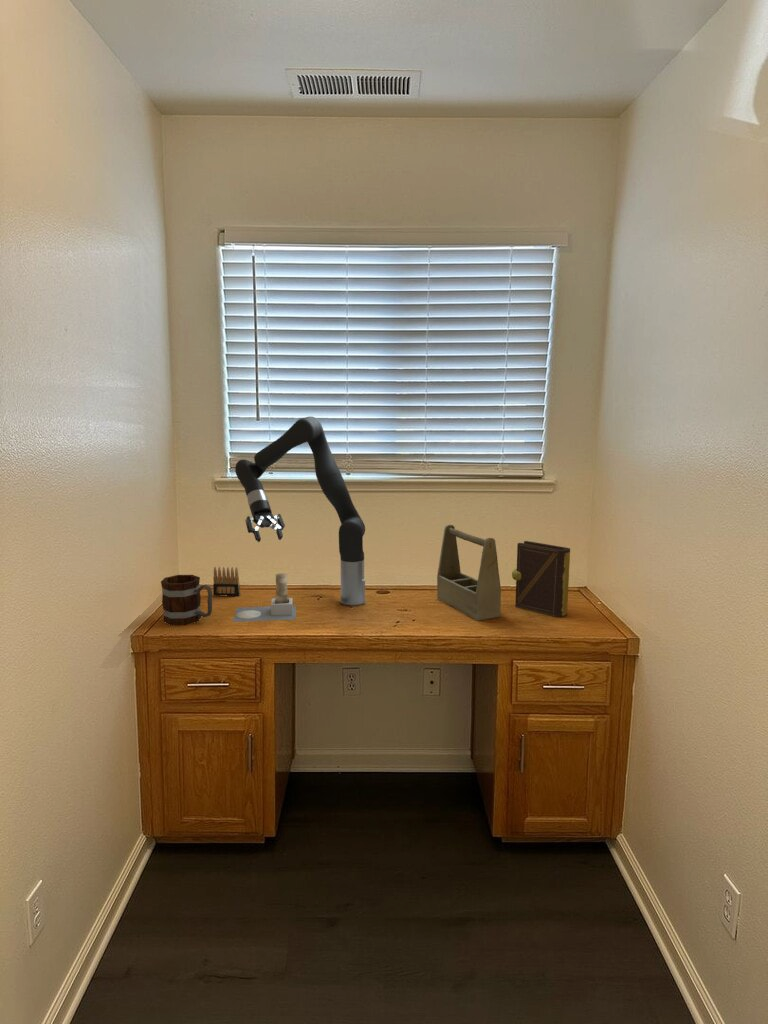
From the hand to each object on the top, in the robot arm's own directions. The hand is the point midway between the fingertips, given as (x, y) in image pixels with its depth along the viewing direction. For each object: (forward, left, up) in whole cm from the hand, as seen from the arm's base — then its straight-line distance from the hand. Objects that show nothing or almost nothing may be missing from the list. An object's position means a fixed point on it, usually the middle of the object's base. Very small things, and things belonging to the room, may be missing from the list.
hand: (270, 539), depth 248 cm
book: (-100, +16, -27) cm, 105 cm away
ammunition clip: (+19, -17, -27) cm, 37 cm away
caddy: (-74, +10, -27) cm, 79 cm away
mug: (+29, +12, -27) cm, 41 cm away
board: (+2, +12, -26) cm, 29 cm away
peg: (-4, +11, -25) cm, 27 cm away
